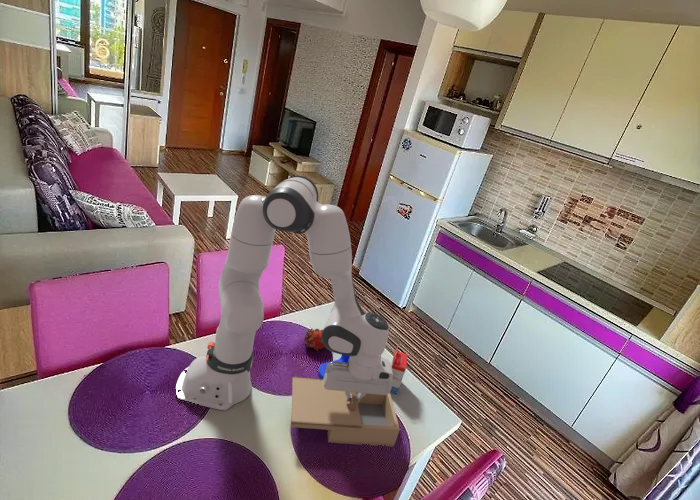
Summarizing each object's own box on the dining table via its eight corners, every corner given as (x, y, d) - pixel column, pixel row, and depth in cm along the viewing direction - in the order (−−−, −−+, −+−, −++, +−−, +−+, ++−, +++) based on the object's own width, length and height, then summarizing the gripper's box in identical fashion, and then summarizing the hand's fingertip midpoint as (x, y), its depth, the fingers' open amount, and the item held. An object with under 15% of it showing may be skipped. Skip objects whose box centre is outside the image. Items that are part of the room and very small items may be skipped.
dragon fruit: (298, 351, 152) (325, 350, 159) (309, 352, 146) (337, 351, 152) (298, 328, 154) (325, 328, 161) (310, 328, 147) (337, 328, 154)
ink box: (397, 395, 141) (408, 362, 135) (383, 390, 141) (394, 357, 135) (399, 379, 148) (410, 347, 143) (386, 375, 149) (397, 343, 143)
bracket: (354, 359, 153) (359, 340, 150) (366, 374, 147) (372, 354, 144) (313, 370, 143) (318, 350, 139) (325, 386, 137) (330, 366, 133)
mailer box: (328, 442, 117) (333, 425, 114) (325, 400, 131) (329, 384, 128) (393, 446, 121) (399, 429, 118) (383, 405, 135) (389, 389, 132)
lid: (290, 427, 111) (293, 412, 109) (291, 381, 127) (294, 367, 125) (360, 431, 115) (364, 418, 113) (353, 386, 131) (356, 374, 129)
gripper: (328, 368, 111) (318, 405, 117) (398, 375, 115) (385, 411, 121) (327, 353, 117) (317, 389, 122) (393, 361, 121) (382, 395, 126)
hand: (352, 400), depth 121 cm, fingers closed on lid
